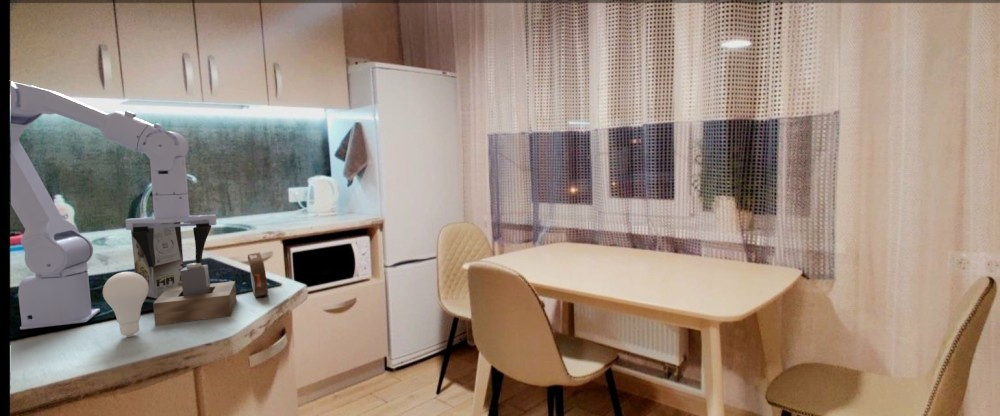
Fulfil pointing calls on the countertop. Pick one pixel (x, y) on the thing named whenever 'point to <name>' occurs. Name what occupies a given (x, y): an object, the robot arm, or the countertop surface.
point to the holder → (195, 304)
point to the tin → (258, 275)
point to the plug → (195, 279)
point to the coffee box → (161, 260)
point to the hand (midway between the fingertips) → (175, 264)
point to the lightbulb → (126, 299)
